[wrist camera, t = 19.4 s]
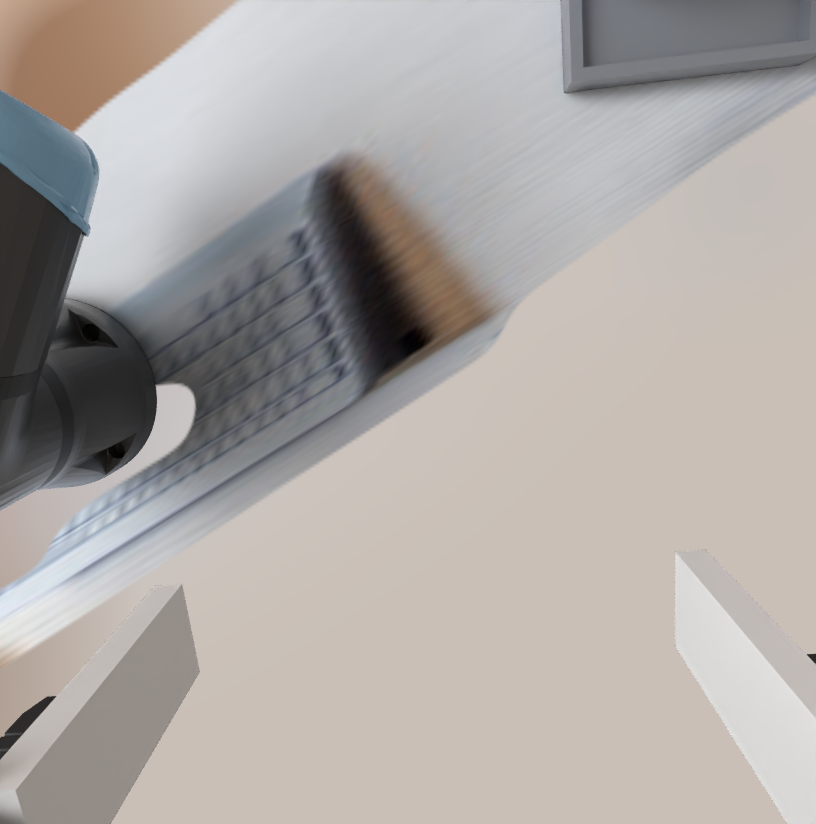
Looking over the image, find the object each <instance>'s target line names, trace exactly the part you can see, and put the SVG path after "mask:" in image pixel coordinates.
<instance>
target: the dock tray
mask: <svg viewBox="0 0 816 824" xmlns="http://www.w3.org/2000/svg"><path fill="white" fill-rule="evenodd" d="M561 22H562V51H563V80H564V93H566V92H574V91H583V90H591V89H600V88H608V87H616V86H625V85H633V84H642V83H650V82H659V81H667V80H676V79H684V78H693V77H701V76H710V75H718V74H727V73H735V72H744V71H752V70H761V69H769V68H777V67H786V66H794V65H800V64H802V63H803V62H805V61H807V60H809V59H810V58H812V57H814V56H816V0H561Z"/></svg>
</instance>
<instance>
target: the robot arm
mask: <svg viewBox="0 0 816 824" xmlns="http://www.w3.org/2000/svg"><path fill="white" fill-rule="evenodd" d="M98 180H99V166H98V162H97V159H96V157H95V155H94V153H93V152H92V150H91V148H90V147H89V146H88V145H87V143H86V142H85V141H84V140H82V139H81V138H80V137H79V136H77V135H76V134H74V133H73V132H71V131H70V130H68V129H66V128H65V127H63V126H62V125H60V124H58V123H57V122H55V121H53V120H51V119H50V118H48V117H46V116H45V115H43V114H41V113H39V112H38V111H36V110H34V109H33V108H31V107H29V106H27V105H26V104H24V103H22V102H20V101H19V100H17V99H15V98H14V97H12V96H10V95H8V94H6V93H5V92H3V91H1V90H0V510H2V509H4V508H6V507H7V506H9V505H11V504H13V503H14V502H16V501H18V500H20V499H22V498H23V497H25V496H27V495H29V494H30V493H32V492H34V491H36V490H40V489H51V488H63V487H74V486H80V485H85V484H88V483H92V482H95V481H97V480H100V479H102V478H104V477H106V476H108V475H110V474H111V473H113V472H114V471H116V470H118V469H119V468H121V467H122V466H124V465H125V464H127V463H128V462H129V461H131V460H132V459H133V458H134V457H135V456H136V455H137V454H138V453H139V451H140V450H141V449H142V447H143V446H144V445H145V443H146V441H147V439H148V437H149V435H150V433H151V431H152V428H153V425H154V421H155V416H156V408H157V396H156V395H157V394H156V386H155V381H154V377H153V374H152V370H151V368H150V365H149V363H148V361H147V358H146V356H145V355H144V353H143V351H142V349H141V348H140V346H139V345H138V343H137V342H136V341H135V339H134V338H133V337H132V336H131V334H130V333H129V332H128V331H127V330H126V329H125V328H124V327H123V326H122V325H121V324H119V323H118V322H117V321H116V320H115V319H113V318H112V317H110V316H109V315H107V314H106V313H104V312H103V311H101V310H99V309H97V308H95V307H93V306H90V305H88V304H85V303H82V302H79V301H75V300H71V299H65V297H66V293H67V290H68V287H69V283H70V280H71V277H72V274H73V270H74V267H75V264H76V261H77V257H78V254H79V251H80V247H81V244H82V241H83V238H84V235H85V236H89V233H90V226H89V224H88V220H89V217H90V213H91V209H92V205H93V201H94V197H95V193H96V189H97V185H98ZM675 646H676V648H677V650H678V651H679V653H680V654H681V656H682V658H683V659H684V661H685V663H686V664H687V665H688V667H689V669H690V670H691V672H692V674H693V675H694V677H695V678H696V680H697V681H698V683H699V685H700V686H701V688H702V690H703V691H704V693H705V694H706V696H707V697H708V699H709V701H710V702H711V704H712V705H713V707H714V709H715V710H716V712H717V713H718V715H719V716H720V718H721V720H722V721H723V723H724V724H725V726H726V728H727V729H728V731H729V732H730V734H731V736H732V737H733V739H734V740H735V742H736V743H737V745H738V746H739V748H740V750H741V751H742V753H743V755H744V756H745V758H746V759H747V761H748V762H749V764H750V766H751V767H752V769H753V770H754V772H755V774H756V775H757V777H758V778H759V780H760V782H761V783H762V785H763V786H764V788H765V789H766V791H767V793H768V794H769V796H770V797H771V799H772V801H773V802H774V804H775V805H776V807H777V808H778V810H779V811H780V813H781V815H782V816H783V818H784V820H785V821H786V823H787V824H816V654H805V653H804V652H803V650H802V649H801V648H800V647H799V646H798V645H797V644H796V643H795V642H794V641H793V640H792V639H791V638H790V637H789V636H788V635H787V634H786V633H785V632H784V631H783V630H782V629H781V628H780V626H779V625H778V624H777V623H776V622H775V621H774V620H773V619H772V618H771V617H770V616H769V615H768V614H767V613H766V612H765V611H764V610H763V609H762V608H761V607H760V606H759V604H758V603H757V602H755V600H754V599H753V598H752V597H751V596H750V595H749V594H748V593H747V592H746V591H745V590H744V589H743V588H742V587H741V586H740V585H739V584H738V583H737V581H735V579H734V578H733V577H732V576H731V575H730V574H729V573H728V572H727V571H726V570H725V569H724V568H723V567H722V566H721V565H720V564H719V563H718V562H717V561H716V560H715V558H714V557H713V556H712V555H711V554H710V553H709V552H708V551H707V550H691V551H677V552H675ZM199 672H200V671H199V666H198V661H197V656H196V651H195V647H194V641H193V636H192V632H191V626H190V621H189V617H188V611H187V606H186V602H185V597H184V592H183V587H182V584H175V585H158V586H154V587H153V588H152V589H151V591H150V592H149V593H148V594H147V595H146V596H145V597H144V599H143V600H142V601H141V602H140V603H139V604H138V605H137V607H136V608H135V609H134V610H133V611H132V612H131V613H130V614H129V615H128V617H127V618H126V619H125V620H124V621H123V622H122V623H121V624H120V626H119V627H118V628H117V629H116V630H115V631H114V632H113V633H112V635H111V636H110V637H109V638H108V639H107V640H106V641H105V642H104V644H103V645H102V646H101V647H100V648H99V649H98V650H97V651H96V653H95V654H94V655H93V656H92V657H91V658H90V659H89V660H88V662H87V663H86V664H85V665H84V666H83V667H82V668H81V669H80V671H79V672H78V673H77V674H76V675H75V676H74V678H73V679H72V680H71V681H70V682H69V683H68V684H67V685H66V687H64V689H63V690H62V691H61V692H60V693H59V694H58V696H52V697H46V698H44V699H43V700H42V701H40V702H39V703H38V704H36V705H34V706H33V707H32V708H30V709H29V710H27V711H26V712H25V713H23V714H22V715H21V716H20V717H19V718H18V719H17V720H16V722H15V723H14V724H13V725H12V726H11V727H10V728H9V729H8V730H7V731H6V732H5V736H4V737H1V738H0V824H111V822H112V820H113V819H114V817H115V815H116V814H117V812H118V810H119V809H120V807H121V805H122V803H123V802H124V800H125V798H126V797H127V795H128V793H129V792H130V790H131V788H132V786H133V785H134V783H135V781H136V780H137V778H138V776H139V775H140V773H141V771H142V769H143V768H144V766H145V764H146V763H147V761H148V759H149V758H150V756H151V754H152V752H153V751H154V749H155V747H156V746H157V744H158V742H159V740H160V738H161V737H162V735H163V733H164V732H165V730H166V729H167V727H168V725H169V723H170V722H171V720H172V718H173V717H174V715H175V713H176V712H177V710H178V708H179V706H180V705H181V703H182V701H183V700H184V698H185V696H186V695H187V693H188V691H189V689H190V688H191V686H192V684H193V683H194V681H195V679H196V677H197V676H198V674H199Z"/></svg>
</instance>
